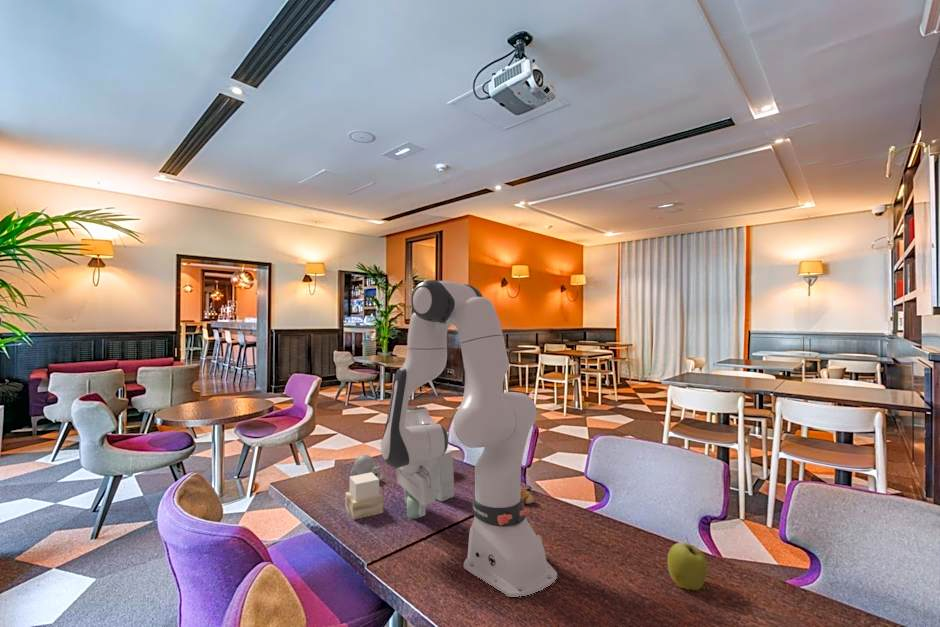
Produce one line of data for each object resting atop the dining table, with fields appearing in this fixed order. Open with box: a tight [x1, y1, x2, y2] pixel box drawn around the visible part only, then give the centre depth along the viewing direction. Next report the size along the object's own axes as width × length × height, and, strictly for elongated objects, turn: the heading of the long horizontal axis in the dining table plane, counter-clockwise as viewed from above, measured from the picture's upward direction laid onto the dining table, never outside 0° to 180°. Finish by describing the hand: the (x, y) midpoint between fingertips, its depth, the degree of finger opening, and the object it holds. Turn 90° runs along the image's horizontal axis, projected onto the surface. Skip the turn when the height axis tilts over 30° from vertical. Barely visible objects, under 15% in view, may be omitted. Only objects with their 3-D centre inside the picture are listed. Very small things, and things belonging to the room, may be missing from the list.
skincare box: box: [427, 449, 455, 502], centre depth 137 cm, size 8×6×15 cm
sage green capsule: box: [406, 495, 423, 520], centre depth 124 cm, size 5×5×5 cm
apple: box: [667, 537, 709, 591], centre depth 91 cm, size 8×8×10 cm
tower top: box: [348, 472, 380, 501], centre depth 127 cm, size 7×7×5 cm
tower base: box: [344, 491, 384, 521], centre depth 127 cm, size 9×9×5 cm
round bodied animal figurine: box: [349, 454, 383, 482], centre depth 150 cm, size 7×12×8 cm, turn 64°
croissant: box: [521, 484, 535, 505], centre depth 136 cm, size 21×10×8 cm, turn 57°
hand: (414, 508), depth 124 cm, fingers open, 8 cm apart
